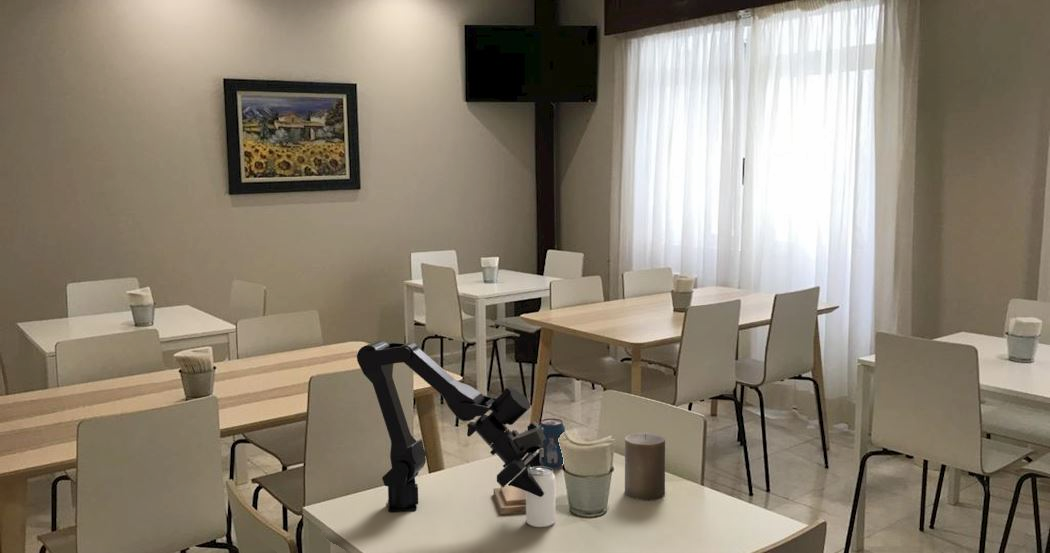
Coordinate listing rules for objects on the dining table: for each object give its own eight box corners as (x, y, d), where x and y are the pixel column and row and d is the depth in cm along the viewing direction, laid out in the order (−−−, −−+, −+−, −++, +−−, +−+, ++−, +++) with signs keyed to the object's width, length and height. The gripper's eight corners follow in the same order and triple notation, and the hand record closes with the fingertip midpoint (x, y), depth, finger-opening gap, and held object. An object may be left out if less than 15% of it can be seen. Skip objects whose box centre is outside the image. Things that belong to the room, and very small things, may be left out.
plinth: (501, 514, 195) (500, 503, 195) (493, 494, 207) (493, 484, 207) (552, 510, 198) (552, 499, 197) (542, 490, 209) (542, 481, 209)
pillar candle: (670, 499, 204) (671, 438, 202) (630, 502, 202) (631, 440, 200) (657, 485, 213) (658, 426, 211) (619, 487, 212) (620, 428, 210)
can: (556, 516, 194) (556, 465, 192) (554, 528, 188) (554, 476, 186) (527, 515, 195) (527, 464, 193) (524, 527, 188) (524, 475, 187)
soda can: (555, 459, 232) (555, 416, 230) (570, 466, 226) (570, 422, 224) (533, 464, 228) (533, 420, 226) (548, 471, 222) (548, 427, 221)
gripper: (510, 427, 180) (561, 482, 178) (534, 403, 198) (581, 453, 196) (475, 459, 183) (525, 514, 182) (502, 433, 201) (548, 483, 199)
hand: (546, 490), depth 190 cm, fingers closed on can, 6 cm apart
